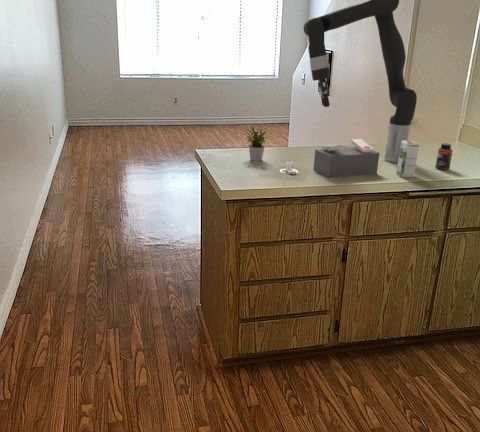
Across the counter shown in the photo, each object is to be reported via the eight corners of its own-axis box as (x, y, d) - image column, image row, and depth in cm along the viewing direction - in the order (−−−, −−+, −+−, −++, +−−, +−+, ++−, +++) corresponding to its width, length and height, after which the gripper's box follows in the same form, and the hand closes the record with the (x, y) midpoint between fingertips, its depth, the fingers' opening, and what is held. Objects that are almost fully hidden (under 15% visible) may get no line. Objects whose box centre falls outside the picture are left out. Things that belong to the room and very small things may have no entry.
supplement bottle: (449, 168, 236) (453, 143, 232) (449, 171, 231) (454, 146, 227) (435, 166, 238) (439, 141, 234) (435, 169, 233) (439, 144, 229)
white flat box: (359, 143, 228) (360, 138, 227) (372, 153, 221) (374, 148, 219) (349, 144, 226) (351, 139, 225) (362, 154, 219) (364, 149, 218)
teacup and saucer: (297, 176, 217) (298, 166, 215) (278, 174, 218) (278, 165, 216) (299, 170, 225) (300, 161, 223) (280, 169, 226) (281, 159, 225)
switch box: (360, 166, 234) (362, 146, 231) (376, 173, 224) (379, 152, 220) (313, 170, 225) (315, 149, 222) (328, 177, 214) (330, 156, 211)
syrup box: (395, 173, 225) (400, 140, 219) (409, 173, 225) (414, 140, 220) (400, 177, 219) (405, 143, 214) (414, 177, 220) (419, 143, 215)
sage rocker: (332, 150, 223) (332, 144, 223) (345, 151, 214) (345, 145, 214) (321, 151, 222) (321, 145, 221) (335, 151, 212) (335, 145, 212)
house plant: (232, 160, 234) (233, 124, 228) (243, 154, 246) (245, 119, 240) (262, 165, 229) (264, 127, 223) (272, 158, 241) (275, 122, 235)
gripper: (330, 65, 215) (336, 105, 219) (326, 65, 229) (332, 103, 233) (312, 69, 216) (318, 109, 220) (309, 69, 229) (315, 106, 233)
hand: (325, 106), depth 226 cm, fingers open, 8 cm apart
